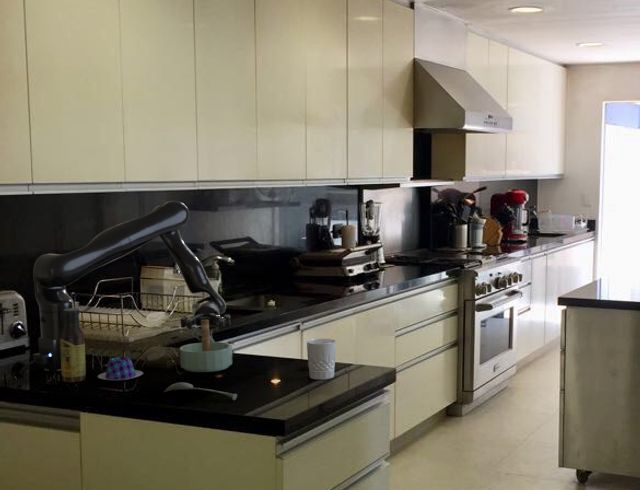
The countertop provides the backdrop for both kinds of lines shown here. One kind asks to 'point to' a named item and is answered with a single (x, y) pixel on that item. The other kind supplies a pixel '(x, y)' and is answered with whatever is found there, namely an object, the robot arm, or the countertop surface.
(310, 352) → the white cup
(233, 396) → the soupspoon
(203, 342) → the stirrer
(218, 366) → the bowl
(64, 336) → the sauce bottle
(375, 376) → the countertop surface
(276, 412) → the countertop surface
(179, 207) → the robot arm
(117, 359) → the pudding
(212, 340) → the kitchen whisk
